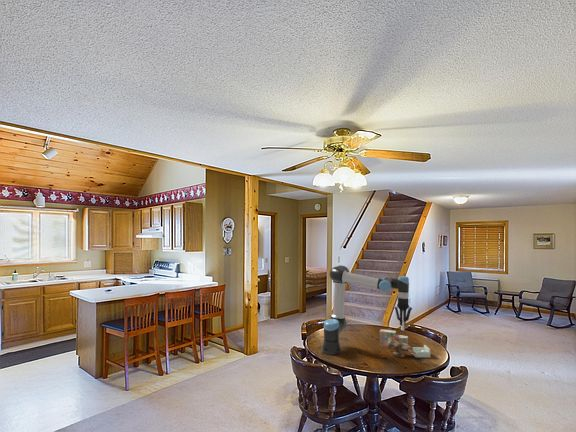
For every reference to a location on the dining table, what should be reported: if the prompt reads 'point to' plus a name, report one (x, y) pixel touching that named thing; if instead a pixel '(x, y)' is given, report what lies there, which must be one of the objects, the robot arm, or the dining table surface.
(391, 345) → the mottled brown lumpy cluster
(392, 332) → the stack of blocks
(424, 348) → the pale green open box
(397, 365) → the dining table surface
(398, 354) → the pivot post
